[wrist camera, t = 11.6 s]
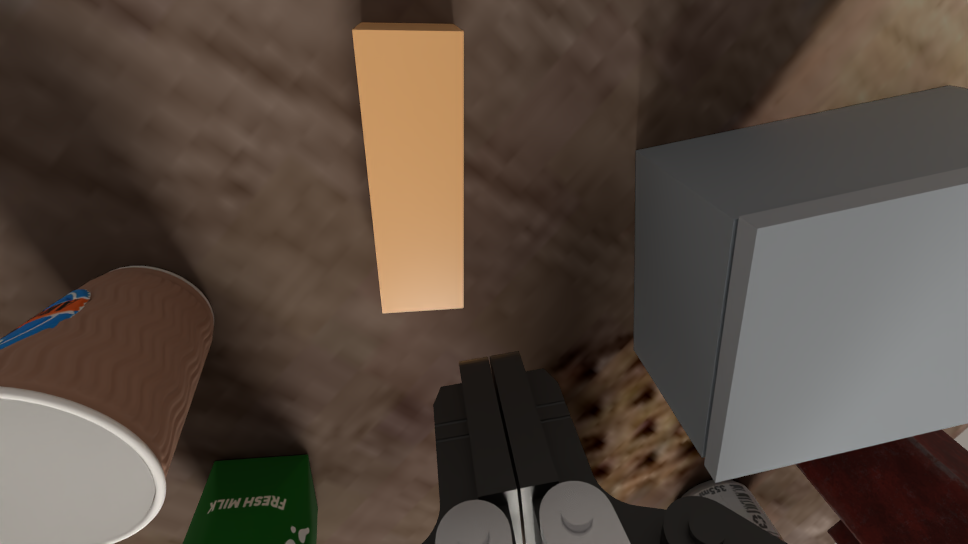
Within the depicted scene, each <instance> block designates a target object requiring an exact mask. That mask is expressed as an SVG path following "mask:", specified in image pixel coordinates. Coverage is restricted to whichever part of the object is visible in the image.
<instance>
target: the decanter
mask: <svg viewBox="0 0 968 544" xmlns="http://www.w3.org/2000/svg"><path fill="white" fill-rule="evenodd" d="M796 465H797V466H798V468H799V469H800V470H801V471H802V473H803V474H804V475H805V476H806V478H807V479H808V480H809V481H810V482H811V484H812V485H813V486H814V487H815V489H816V490H817V491H818V492H819V493H820V495H821V496H822V497H823V498H824V500H825V501H826V502H827V503H828V504H829V506H830V507H831V508H832V509H833V511H834V512H835V513H836V514H837V515H838V517H839V518H840V519H841V520H840V521H839V522H837V523H836V524H835V525H834V526H832V527H831V528H830V529H829V530H828V533H829V534H830V536H831V537H832V538H833V539H834V541H835V542H836V543H837V544H968V451H967V450H966V449H965V448H963V447H962V446H961V445H960V444H959V443H957V442H956V441H955V440H954V439H952V438H951V437H950V436H949V435H948V434H946V433H945V432H944V431H943V430H942V429H941V430H937V431H932V432H928V433H924V434H920V435H916V436H911V437H907V438H903V439H899V440H894V441H890V442H886V443H882V444H878V445H873V446H869V447H865V448H861V449H856V450H852V451H848V452H844V453H840V454H835V455H831V456H827V457H823V458H818V459H814V460H810V461H806V462H802V463H797V464H796Z"/></svg>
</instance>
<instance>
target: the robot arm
mask: <svg viewBox="0 0 968 544" xmlns="http://www.w3.org/2000/svg"><path fill="white" fill-rule="evenodd" d="M490 364H491V369H490V365H489V360H488V357H483V358H477V359H472V360H466V361H460V362H459V366H460V373H461V380H462V383H460V384H455V385H449V386H444V387H441V388H440V390H439V393H438V395H437V398H436V400H435V402H434V405H433V407H434V421H435V436H436V451H437V465H438V480H439V495H440V512H439V517H438V520H437V523H436V525H435V527H434V529H433V531H432V532H431V534H430V535H429V537H428V538H427V539H426V540H425V541H424V542H423V543H422V544H787V543H786V542H784V541H782V540H781V539H779V538H777V537H776V536H774V535H772V534H771V533H769V532H767V531H766V530H764V529H762V528H761V527H759V526H757V525H756V524H754V523H752V522H751V521H749V520H747V519H746V518H744V517H742V516H741V515H739V514H737V513H736V512H734V511H732V510H730V509H729V508H727V507H725V506H724V505H722V504H720V503H718V502H716V501H714V500H712V499H709V498H706V497H701V496H686V497H682V498H680V499H677V500H675V501H674V502H673V503H672V504H671V505H670V506H669V507H668V508H667V510H664V509H657V508H649V507H641V506H635V505H630V504H627V503H624V502H621V501H619V500H617V499H615V498H614V497H612V496H611V495H609V494H608V493H607V492H605V491H604V490H603V489H602V488H601V486H600V485H599V484H598V483H597V481H596V480H595V478H594V476H593V474H592V471H591V469H590V466H589V463H588V461H587V458H586V455H585V453H584V450H583V448H582V445H581V442H580V440H579V437H578V434H577V432H576V429H575V426H574V424H573V421H572V419H571V417H570V413H569V411H568V408H567V405H566V404H565V401H564V398H563V395H562V392H561V390H560V387H559V384H558V382H557V381H556V380H555V379H554V378H553V377H552V376H551V375H550V374H549V373H548V372H547V371H546V370H545V369H538V370H532V371H527V372H525V369H524V366H523V362H522V359H521V356H520V353H519V351H516V352H511V353H505V354H499V355H494V356H490ZM491 372H492V374H491Z"/></svg>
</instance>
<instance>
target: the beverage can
mask: <svg viewBox="0 0 968 544" xmlns="http://www.w3.org/2000/svg"><path fill="white" fill-rule="evenodd" d="M686 496H701V497H706V498H709V499H712V500H714V501H716V502H718V503H720V504H722V505H724V506H725V507H727V508H729V509H730V510H732V511H734V512H736V513H737V514H739V515H741V516H742V517H744V518H746V519H747V520H749V521H751V522H752V523H754V524H756V525H757V526H759V527H761V528H762V529H764V530H766V531H767V532H769V533H771V534H772V535H774V536H776V537H777V538H779V539H781V540H782V541H784V540H783V539H782V537H781V536H780V534H779V533H778V531H777V530H776V528H775V527H774V525H773V524H772V522H771V521H770V520H769V518H768V517H767V515H766V514H765V512H764V511H763V509H762V508H761V506H760V505H759V503H758V502H757V501H756V499H755V498H754V496H753V495H752V493H751V492H750V491H749V490H748V489H747V487H746V486H744V485H743V484H741V483H738V482H735V481H733V480H725V481H721V482H717V483H715V482H714V480H710V481H707V482H704V483H701V484H699V485H697V486H695V487H694V488H692V489H690V490H689V491H688V492H686V493H685V494H684V495H683V496H682V497H686ZM682 497H681V498H682ZM784 542H785V541H784Z"/></svg>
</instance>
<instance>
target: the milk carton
mask: <svg viewBox="0 0 968 544" xmlns="http://www.w3.org/2000/svg"><path fill="white" fill-rule="evenodd" d="M317 513H318V507H317V502H316V496H315V491H314V485H313V480H312V474H311V469H310V463H309V458H308V455H294V456H280V457H265V458H251V459H237V460H223V461H215V462H214V464H213V467H212V470H211V472H210V475H209V477H208V480H207V483H206V485H205V488H204V491H203V493H202V496H201V498H200V501H199V503H198V506H197V508H196V511H195V514H194V516H193V519H192V521H191V524H190V526H189V529H188V532H187V534H186V537H185V539H184V542H183V544H316V538H317Z"/></svg>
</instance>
